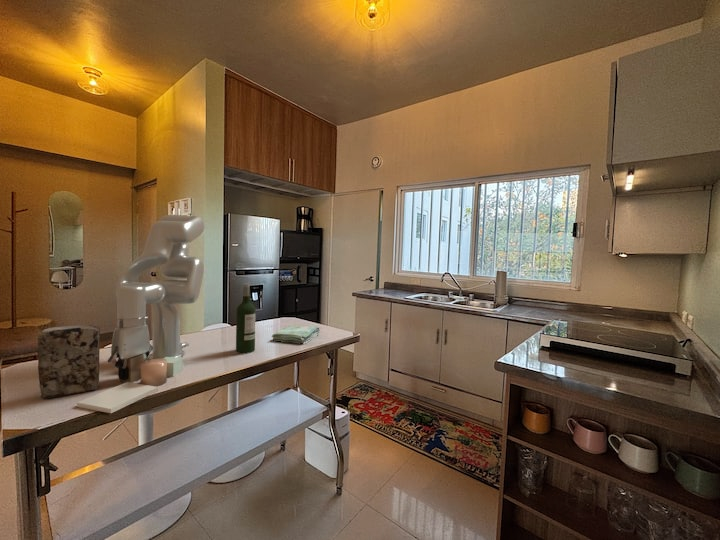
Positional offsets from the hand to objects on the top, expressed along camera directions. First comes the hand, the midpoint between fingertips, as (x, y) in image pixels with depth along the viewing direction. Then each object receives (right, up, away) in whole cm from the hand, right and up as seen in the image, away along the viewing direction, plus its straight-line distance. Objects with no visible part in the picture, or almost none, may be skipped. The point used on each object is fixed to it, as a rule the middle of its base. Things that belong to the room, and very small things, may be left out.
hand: (132, 375), depth 100 cm
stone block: (-11, -2, -10) cm, 15 cm away
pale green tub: (+9, -2, +6) cm, 11 cm away
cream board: (+6, -2, -13) cm, 14 cm away
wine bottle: (+25, -1, +33) cm, 42 cm away
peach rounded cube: (+9, -2, -2) cm, 9 cm away
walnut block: (0, -1, 0) cm, 2 cm away
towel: (+43, -1, +56) cm, 71 cm away
